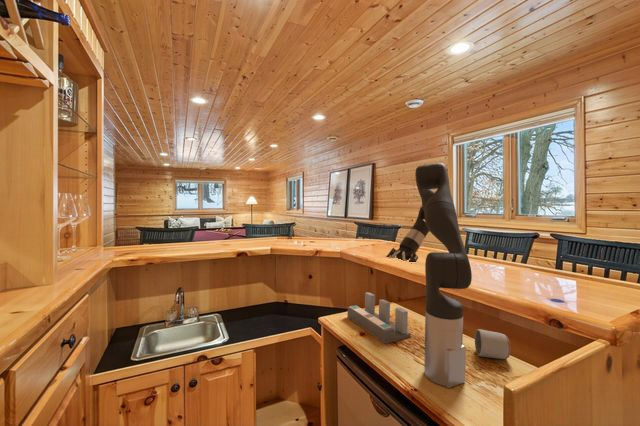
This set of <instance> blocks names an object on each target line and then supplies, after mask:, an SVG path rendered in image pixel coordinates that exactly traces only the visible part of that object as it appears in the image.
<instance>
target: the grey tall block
mask: <svg viewBox="0 0 640 426" xmlns="http://www.w3.org/2000/svg"><path fill="white" fill-rule="evenodd" d="M394 310H395V311H394V313H395V314H394V315H395V317H394V324H395V329H396V330H397V331H399V332H401V333H402V334H404V333H407V332H408V323H409V322H408V316H409V315H408V313H409V311H408V310H406V309H404V308H402V307H396V308H394Z"/></svg>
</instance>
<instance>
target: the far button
mask: <svg viewBox="0 0 640 426" xmlns="http://www.w3.org/2000/svg"><path fill="white" fill-rule="evenodd" d="M375 303H376V294H374V293H371V292H370V291H369V292H368V291H367V292H365V293H364V310H365V311H366V312H368V313H369V314H374V313H376V312H375V309H376V307H375V306H376V304H375Z"/></svg>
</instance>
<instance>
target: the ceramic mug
mask: <svg viewBox="0 0 640 426" xmlns="http://www.w3.org/2000/svg"><path fill="white" fill-rule="evenodd" d="M474 334H475V335H474V348H475V352H476V355H477V356H478V357H483V358H492V359H499V360H507V359H509V357H510V356H511V351H512V350H511V342H510V339H509V337H508V336H507V335H506V334H504V333H500V332H497V331H496V332H495V331H490V330H485V329H481V328H478V329H476V330H475V333H474Z"/></svg>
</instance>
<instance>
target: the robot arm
mask: <svg viewBox="0 0 640 426" xmlns="http://www.w3.org/2000/svg"><path fill="white" fill-rule="evenodd" d="M414 173H415V174H414V175H415V176H414V177H415V184H416V188H417V192H418V195H419V197H420V199H421V206H420V208H419V211H418V214H417V217H416V220H415V222H414V224H413V225H412V227H411V228H410V229H409V231H408V232H407V233H406V235H405V236H404V237H403V239H402V240H401V241H400V243H399V248H398V249H396V248H394V247H392V248H391V250H390V251H389V252H388V254H387V255H386V257H389V258H397V259H401V260H403V261H407V260H409V262H416V263H417V261H418V259H419V256H418V255H417V251H418V250H419V248H420V247H421V246H422V244H423V242H424V240H425V239H426V237H427V235H428V234H429V232H430V233H431V235H432V236H434V238H435V239H437V240H438V241H439V242H440V243H441V244H442V245H443V246H444V247H445V248H446V250H447V251H448V252H438V251H436V252H435V251H433V252H429V253H428V254H426V257H425V263H424V264H425V265H424V267H425V268H424V269H425V270H424V271H425V272H424V273H425V314H424V315H425V322H424V323H425V324H424V367H423V368H424V369H423V370H424V372H423V373H424V375H425V377H426V378H427V379H428V380H429V381H431V382H432V383H435V384H437V385H440V386H442V387H443V386H444V387H445V388H447V389H451V388H454V387H456V386H460V385H462V384H464V383H466V363H467V362H466V357H467V355H466V353H467V346H466V345H464V344H463V339H464V338H463V337H464V336H463V335H464V334H463V332H464V331H463V330H464V306H463V304H462V303H461V302H460V301H458V300H456V299H455V298H451V297H450V296H447V295H445V294H443V293H442V292H441V291H440V289H451V290H452V289H455V290H465V289H466V290H467V289H468V288H469V287H470V286H471V284H472V279H473V276H472V275H473V274H472V273H473V272H472V267H471V263H470V259H469V256H468V253H467V251H466V247H465V244H464V242H463V239H462V235H461V232H460V226H459V221H458V215H457V210H456V207H455V204H454V200H453V196H452V193H451V186H450V178H449V172H448V168H447V166H446V165H445V163H442V162H435V163H429V164H422V165H418V166H417V167H416V168H415V172H414ZM435 189H436V190H435ZM434 190H435V191H434ZM386 257H385V258H386Z"/></svg>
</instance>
